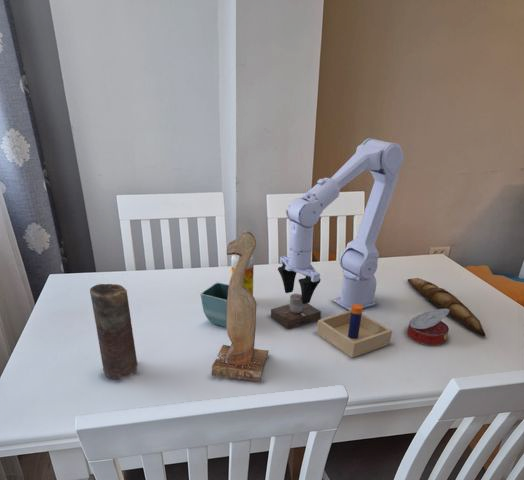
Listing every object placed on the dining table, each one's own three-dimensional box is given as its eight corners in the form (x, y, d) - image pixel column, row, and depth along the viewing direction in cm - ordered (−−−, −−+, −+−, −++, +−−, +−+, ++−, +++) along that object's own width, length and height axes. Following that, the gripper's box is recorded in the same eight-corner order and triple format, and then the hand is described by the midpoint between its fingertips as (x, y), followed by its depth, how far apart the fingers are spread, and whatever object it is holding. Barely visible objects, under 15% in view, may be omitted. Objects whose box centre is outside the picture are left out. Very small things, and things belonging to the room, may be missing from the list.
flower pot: (245, 318, 129) (246, 288, 124) (230, 332, 122) (230, 301, 117) (217, 311, 132) (216, 281, 127) (200, 325, 125) (199, 293, 121)
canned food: (427, 361, 122) (423, 337, 115) (401, 339, 129) (396, 315, 121) (461, 336, 123) (460, 310, 115) (434, 316, 130) (431, 291, 122)
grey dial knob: (286, 308, 129) (287, 294, 127) (297, 306, 131) (298, 291, 129) (294, 314, 127) (295, 299, 124) (305, 311, 128) (306, 296, 126)
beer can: (250, 309, 134) (251, 258, 126) (229, 307, 135) (228, 256, 127) (254, 300, 139) (255, 251, 131) (234, 298, 140) (234, 249, 132)
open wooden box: (352, 322, 129) (354, 309, 127) (389, 344, 119) (392, 330, 117) (316, 333, 123) (318, 320, 121) (352, 358, 113) (354, 343, 111)
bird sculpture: (220, 351, 114) (217, 219, 97) (268, 355, 113) (274, 222, 97) (211, 378, 105) (206, 236, 88) (264, 382, 104) (269, 240, 87)
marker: (353, 332, 122) (357, 302, 118) (360, 337, 120) (365, 307, 116) (345, 335, 121) (349, 305, 117) (352, 340, 119) (357, 309, 115)
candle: (107, 361, 109) (93, 280, 98) (140, 361, 110) (130, 280, 99) (100, 381, 102) (85, 296, 92) (135, 380, 103) (123, 296, 93)
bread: (400, 282, 153) (403, 268, 151) (413, 281, 155) (416, 266, 152) (476, 340, 122) (481, 323, 120) (492, 338, 124) (498, 321, 121)
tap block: (302, 308, 135) (303, 299, 134) (320, 319, 130) (321, 310, 128) (270, 317, 130) (271, 308, 129) (287, 329, 125) (288, 320, 123)
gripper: (271, 242, 123) (269, 290, 130) (305, 260, 113) (301, 311, 120) (293, 238, 126) (290, 285, 133) (328, 255, 116) (323, 305, 123)
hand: (297, 297), depth 127 cm, fingers open, 7 cm apart
